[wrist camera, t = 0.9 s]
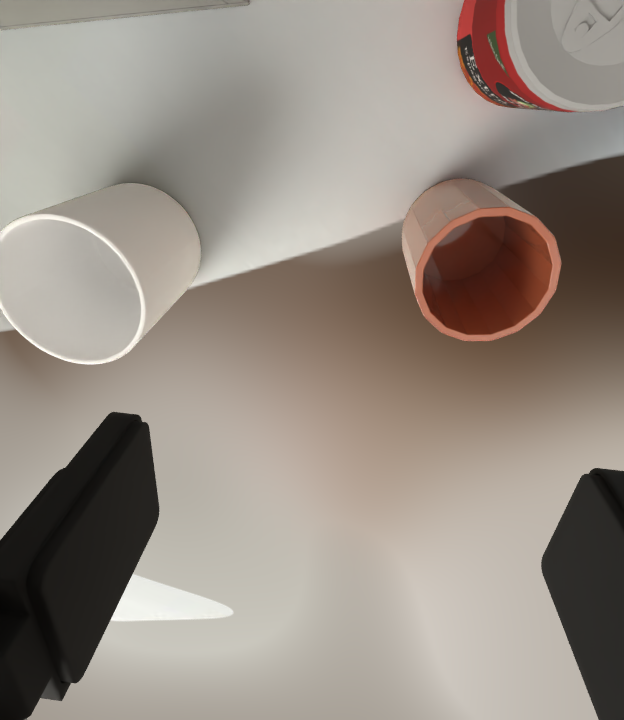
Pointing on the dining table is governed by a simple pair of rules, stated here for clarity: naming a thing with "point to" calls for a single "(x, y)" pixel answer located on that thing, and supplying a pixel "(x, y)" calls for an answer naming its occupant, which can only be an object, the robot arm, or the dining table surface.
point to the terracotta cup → (478, 260)
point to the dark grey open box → (95, 10)
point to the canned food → (544, 53)
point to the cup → (97, 270)
